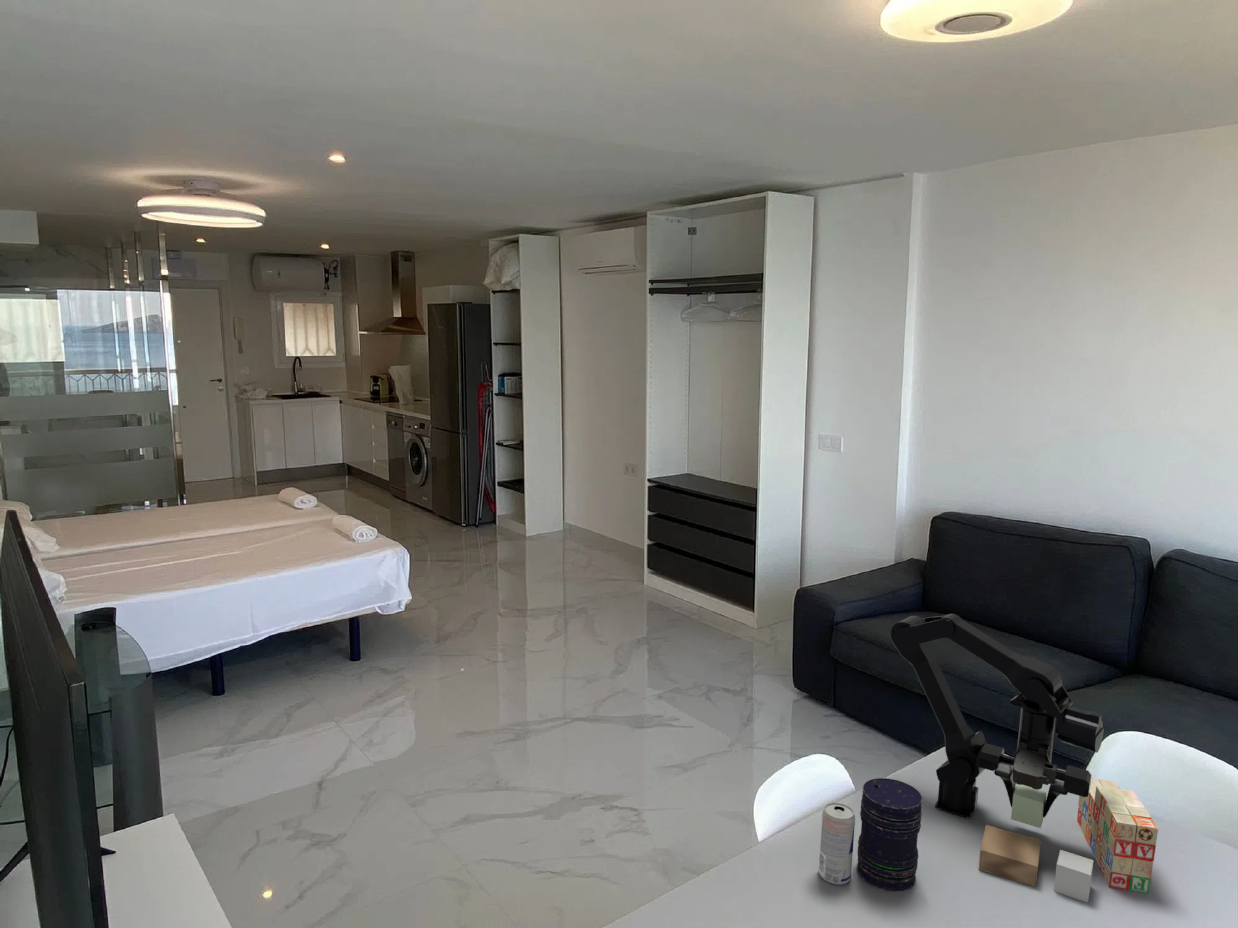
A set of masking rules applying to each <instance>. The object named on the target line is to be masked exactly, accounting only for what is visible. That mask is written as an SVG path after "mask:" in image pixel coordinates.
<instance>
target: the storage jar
mask: <svg viewBox="0 0 1238 928" xmlns="http://www.w3.org/2000/svg"><path fill="white" fill-rule="evenodd" d="M922 804H923V796H922V794H921V792H920V791H919V790H918V789H916V788H915V787H914V786H912V785H910V784H909V783H906V782H903V781H901V780H897V779H894V778H887V777H884V778H883V777H878V778H872V779H869V780H867V781H866V782H864V784H863V785H862V795H861V800H860V813H859V815H860V816H859V817H860V820H861V826H860V827H861V828H860V835H859V837H858V841H857V844H858V845H857V855H856V856H857V865H856V870H857V873H858V875H859V876H860V878H861V879H862V880H863V881H864V882H866V883H867V884H869V885H871V886H872V887H874V888H876V889H878V890H881V891H886V892H893V893H896V892H898V893H899V892H905V891H906V892H907V891H908V890H910V889H912V888H913V887H914V886H915V885H916V879H917V878H916V877H917V876H916V873H917V869H918V862H919V861H918V858H919V849H918V847H917V845H918V835H919V833H920V830H921V828H922V827H921V825H922V823H921V822H922Z"/></svg>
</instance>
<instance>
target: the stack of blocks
mask: <svg viewBox="0 0 1238 928" xmlns="http://www.w3.org/2000/svg"><path fill="white" fill-rule="evenodd" d="M1078 796H1079V795H1078ZM1077 806H1078V809H1077V818H1076V819H1077V823H1078V825H1079V826H1080V830H1081V832H1082V834H1083V836H1084V837H1085V840H1086V843H1087V845H1088V846H1089V848H1090V850H1091V852H1092V854H1093V856H1094V858H1095V860H1096V862H1097V865H1098V867H1099V870H1100V871H1101V873H1102V876H1103V878H1104V880H1105V882H1106V885H1107V887H1108V888H1113V889H1117V890H1123V891H1129V892H1135V893H1141V894H1146V895H1149V894H1150V889H1151V884H1152V874H1153V873H1152V872H1153V866H1154V862H1155V854H1156V847H1157V839H1158V834H1159V833H1158V832H1159V827H1158V826H1157V825H1156V823H1155V822H1154V819H1152V818H1153V817H1152V816H1151V814H1150V813H1149V811H1148V810H1147V809H1146V807H1145V806H1144V804H1143V803H1142V801H1141V799H1139V797H1138V795H1137V794H1136V793H1135V792H1134V790H1131V789H1122V788H1120V786H1119V785H1118V783H1117V781H1114V780H1106V779H1100V778H1099V779H1098V778H1092V777H1091V785H1090V790H1089V794H1088V797H1082V796H1079V797H1078V805H1077Z"/></svg>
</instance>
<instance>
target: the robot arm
mask: <svg viewBox="0 0 1238 928" xmlns="http://www.w3.org/2000/svg"><path fill="white" fill-rule="evenodd" d="M889 637H890V641H891V642H892V644H893V645H894V647H895V648H896V650H897V651H898V653H899V654H900V656H902V658H904V659H905V660H906V661H907V663H909V664H910V665H911V666H912V667H913V670H914V673H915V674H916V676H917V678H918V681H919V683H920V685H921V687H922V689H923V691H924V694H925V695H926V697H927V700H928V702H929V705H930V707H931V709H932V710H933V713H934V715H935V717H936V719H937V721H938V724H939V726H940V728H941V730H942V732H943V736H944V749H945V750H944V751H945V755H946V758H947V760H946V761H945V762H944V763H942V764H941V765H940V766H939V767H938V768H937V769H935V773H936V776H937V780H938V781H939V782H938V793H937V794H938V795H937V800H936V803H935V805H934V807H935V808H936V809H939V810H941V811H945V812H947V813H948V812H949V813H951V814H954V815H957V816H960V817H963V818H966V819H970V818H971V816H972V814H973V813H975V812H976V809H977V807H978V799H979V787H978V786H977V778H978V777H979V776H980V775H981V774H982V773H983V772H984V771H985V770H988V771H992V772H993V773H994V775H995V776H996V777H999V778H1000V779H1001V780H1002V782H1003V785H1004V787H1005V789H1006V790H1005V791H1006V793H1007V797H1008V799H1009V800H1008V801H1009V804H1010V807H1011V808H1012V804H1013V794H1014V791H1015V789H1016V786H1017V784H1019V785H1025V786H1029V787H1032V788H1033V789H1036V790H1039V789H1040V790H1042V788H1043V785H1046V786H1049V789H1048V791H1047V792H1048V793H1047V795H1046V802H1045V806H1044V809H1043V817H1044V818H1046V816H1047V815H1048V813H1049V811H1050V810H1051V807H1052V806H1053V803H1054V802H1055V801H1056V800H1057V798H1058V797H1059V796H1060V795H1062V796H1067V795H1068V794H1071V795H1076V796H1082V797H1088V794H1089V790H1090V785H1091V778H1092V774H1091V772H1090V771H1089V770H1088V769H1084V768H1080V767H1078V766H1077V767H1076V766H1073V765H1069V764H1068V765H1067V767H1066V770H1065V769H1061V768H1058V765H1056V764H1054V763H1052V754H1053V745H1054V735H1057V739H1058V740H1060V741H1061V743H1064V744H1066V745H1070V746H1075V747H1077V748H1081V749H1083V750H1086V751H1089V752H1093V753H1099V750H1100V749H1101V746H1102V743H1103V738H1104V731H1105V728H1104V727H1103V726H1104V724H1103V723H1104V722H1103V721H1102V713H1100V712H1097V711H1091V710H1086V709H1082V708H1078V707H1075V706H1072V705H1073V703H1074V702H1073V699H1072V698H1071V696H1070V695H1069V693H1068V691H1067V690H1066V688H1065V687H1064V685H1063V679H1062V676H1061V672H1059V670H1058V669H1057V668H1056V667H1054V666H1052V665H1051V664H1048V663H1045V662H1044V661H1042V660H1039V659H1037V658H1035V657H1030V656H1027V655H1022V654H1020V653H1017V652H1015V651H1014V650H1012V649H1010V648H1008V646H1006V645H1004V644H1002V643H1001V642H999V641H998V640H997V639H994V638H992V637H991V636H989V635H987V634H986V633H985V632H984V631H982V630H980V629H978V628H977V627H975V626H974V625H971V624H970V623H968V622H966V621H965V620H964V619H963V618H962V617H960V615H957V614H955V613H949V614H946V615H940V616H939V615H938V616H937V615H936V616H930V617H924V618H923V617H920V616H919V615H911V616H908V617H906V618H904V619H902V620H901V621H897V623H895V624H893V626H892V627H891V629H890V632H889ZM945 638H946V639H948V640H949V641H952V642H953V643H955V644H956V645H958V646H959V647H961V648H962V649H964V650H965V651H967V652H968V653H971V654H972V655H973V656H975V657H977V659H979V660H981V661H983V662H984V663H986V664H987V665H989V666H991V667H992V668H994V669H995V670H997V671H999V673H1001V674H1002V675H1003V676H1004V677H1006V679H1007V680H1008V682H1009V683H1010V684H1011V685H1012V687H1013V688H1014V689H1015V690H1016V691H1018V692H1019V693H1018V695H1015V696H1014V697H1013V698H1011V699H1010V700H1009V702H1008V703H1009V704H1010V705H1012V706H1013V707H1018V708H1020V718H1019V719H1020V720H1019V726H1018V727H1019V729H1018V738H1017V748H1016V750H1015V752H1014V755H1013V756H1009V755H1006V754H1005V748H1004V747H1001V746H998V745H994V744H990V743H988V742H987V741H986V738H985V735H984V733H983V731H982V730H979V731H977V732H975V731H974V730H973V729H972V728H970V727H969V725H968V724H967V722H966V720H965V718H964V716H963V713H962V711H961V709H960V707H959V705H958V703H957V700H956V699H955V697H954V694H953V692H952V690H951V688H950V686H949V684H948V682H947V679H946V677H945V675H944V673H943V671H942V669H941V667H940V664H939V663H938V660H937V658H936V652H935V640H939V639H945ZM1053 697H1054V698H1053ZM1055 699H1056V700H1055Z"/></svg>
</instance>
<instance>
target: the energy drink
mask: <svg viewBox="0 0 1238 928" xmlns="http://www.w3.org/2000/svg"><path fill="white" fill-rule="evenodd" d="M855 823H856V816H855V812H854V810H853V808H852V807H850V806H848V805H847V804H844V803H841V802H840V803H839V802H830V803H827V804H825V806H824V808H823V810H822V814H821V830H820V831H821V832H820V845H819V846H820V847H819V863H818V874H819V876H820V877H821V878H822V880H824V881H825V882H826V883H828V884H831V885H836V886H842V885H846V884H847V883H849V882H850V881H851V879H852V878H851V877H852V869H853V868H852V867H853V851H854V842H855V841H854V839H855V826H856V825H855Z"/></svg>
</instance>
